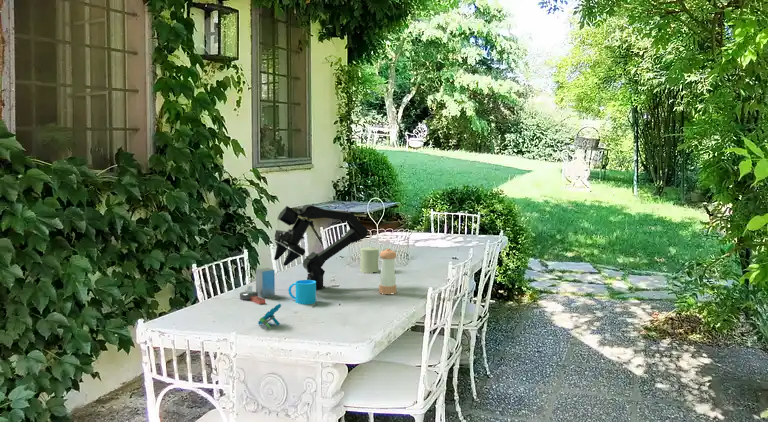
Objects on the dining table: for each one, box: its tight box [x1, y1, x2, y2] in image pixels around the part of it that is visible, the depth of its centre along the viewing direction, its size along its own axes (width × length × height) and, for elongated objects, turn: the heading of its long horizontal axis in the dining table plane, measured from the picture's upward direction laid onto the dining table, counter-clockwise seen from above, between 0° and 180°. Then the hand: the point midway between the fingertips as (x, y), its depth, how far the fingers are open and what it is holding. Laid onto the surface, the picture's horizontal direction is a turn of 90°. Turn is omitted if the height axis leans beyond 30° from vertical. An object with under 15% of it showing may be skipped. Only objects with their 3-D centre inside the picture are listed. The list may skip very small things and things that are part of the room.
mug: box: [288, 279, 317, 305], centre depth 259 cm, size 12×8×8 cm
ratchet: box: [239, 285, 266, 305], centre depth 260 cm, size 7×15×5 cm, turn 38°
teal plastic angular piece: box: [257, 303, 282, 329], centre depth 224 cm, size 11×6×10 cm
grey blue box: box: [255, 267, 276, 299], centre depth 267 cm, size 6×6×11 cm
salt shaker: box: [378, 248, 397, 295], centre depth 274 cm, size 7×7×19 cm
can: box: [359, 246, 379, 274], centre depth 321 cm, size 9×9×12 cm
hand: (279, 262), depth 275 cm, fingers open, 9 cm apart
